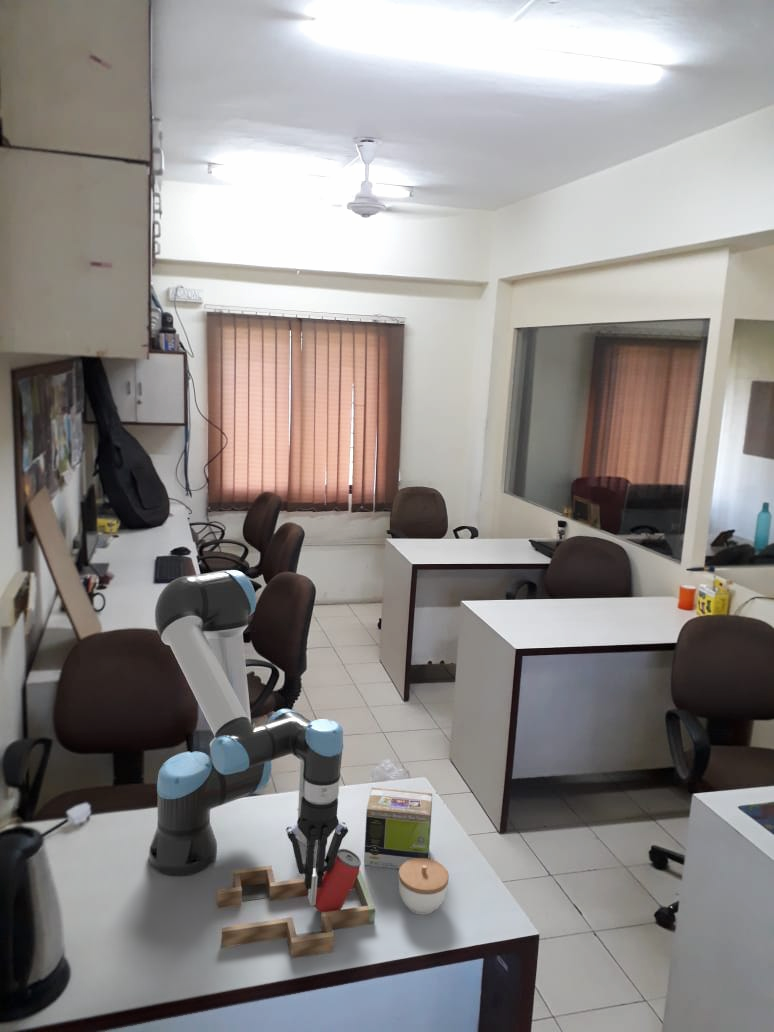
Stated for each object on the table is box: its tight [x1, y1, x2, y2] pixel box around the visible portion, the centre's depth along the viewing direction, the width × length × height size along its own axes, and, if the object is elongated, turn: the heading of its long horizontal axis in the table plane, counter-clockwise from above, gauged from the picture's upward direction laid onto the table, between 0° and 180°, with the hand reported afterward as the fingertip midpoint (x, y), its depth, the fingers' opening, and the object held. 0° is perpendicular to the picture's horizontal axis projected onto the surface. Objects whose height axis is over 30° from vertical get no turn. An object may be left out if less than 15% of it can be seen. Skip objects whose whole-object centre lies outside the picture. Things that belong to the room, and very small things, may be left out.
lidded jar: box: [398, 858, 450, 916], centre depth 165 cm, size 11×11×9 cm
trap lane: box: [216, 864, 376, 959], centre depth 160 cm, size 31×24×4 cm
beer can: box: [313, 848, 362, 914], centre depth 161 cm, size 7×7×12 cm
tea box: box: [363, 787, 433, 869], centre depth 180 cm, size 15×10×15 cm, turn 84°
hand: (311, 900), depth 159 cm, fingers closed
